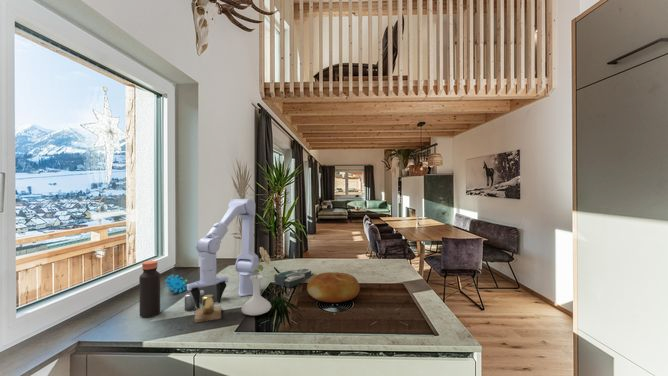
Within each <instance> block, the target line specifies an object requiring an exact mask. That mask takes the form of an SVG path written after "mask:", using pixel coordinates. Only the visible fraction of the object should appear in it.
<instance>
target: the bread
mask: <svg viewBox="0 0 668 376" xmlns="http://www.w3.org/2000/svg"><path fill="white" fill-rule="evenodd" d="M360 290H361V288H360V283H359V281H358V279H356V277H355V276H353V275H351V274H349V273H346V272H345V273H344V272H336V271H335V272H333V271H332V272H328V271H327V272H322V273H321V272H320V273H318V274H316V275H314V276H312V277H311V279H310V280H309V281H308V282H307V286H306V291H307V293H308V295H309V296H310V297H311V298H313V299H314V300H317V301H319V302H321V303H322V302H324V303H332V304H333V303H336V304H337V303H343V302H347V301H350V300H352V299H355V298H356V297H357V296H358V295H359V293H360Z"/></svg>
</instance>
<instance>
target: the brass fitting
mask: <svg viewBox="0 0 668 376" xmlns="http://www.w3.org/2000/svg"><path fill="white" fill-rule="evenodd" d="M201 305H202V309H203V314H204V315H208V314H212V313H213V312H214V307H215V301H214V295H205V296H203V297H202V303H201Z"/></svg>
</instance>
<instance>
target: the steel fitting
mask: <svg viewBox="0 0 668 376" xmlns="http://www.w3.org/2000/svg"><path fill="white" fill-rule="evenodd" d="M194 309H195V310H197V308H196V304H195V300H194V298H193V295H192V293H191V292H187V293H185V294H184V312H193V311H195V310H194ZM192 310H193V311H192Z"/></svg>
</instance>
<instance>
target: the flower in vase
mask: <svg viewBox="0 0 668 376" xmlns="http://www.w3.org/2000/svg"><path fill="white" fill-rule="evenodd" d="M259 253H260V256H261V258H260V260H259V264H260V265H258V268H259V270H258V269H257V270H256V269H255V270H254V272H253V273H257V274H258V272H259V273H260V272H262V271H264V266H263V265H262V264H261V262H262V260H263V262H264V263H265V264H266V265H271V262H272V260H271V259H270V257H271V256H270V255H269V254H268V252H267V250H266V249H265V248H264V247H263V246H260V247H259ZM263 278H264V276H263V274H260V275H253V276H251V277H250V279H251V280H252V282H253V288H254V293H253V295H251V297H250V298H249V299H248V300H247V301H245V303H244V304H243V305H241V306H242V307H241V308H240V310H241V313H242V314H244V315H247V316H261V315H263V314H265V313H268V312H269V311H270V310H271V308H272V304H271V302H270V301H269V300H267V299H266V298H264V297H263V296H262V295H261V293H260V292H261V291H260V292H259V287H260V285H261V281H262V280H263Z"/></svg>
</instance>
